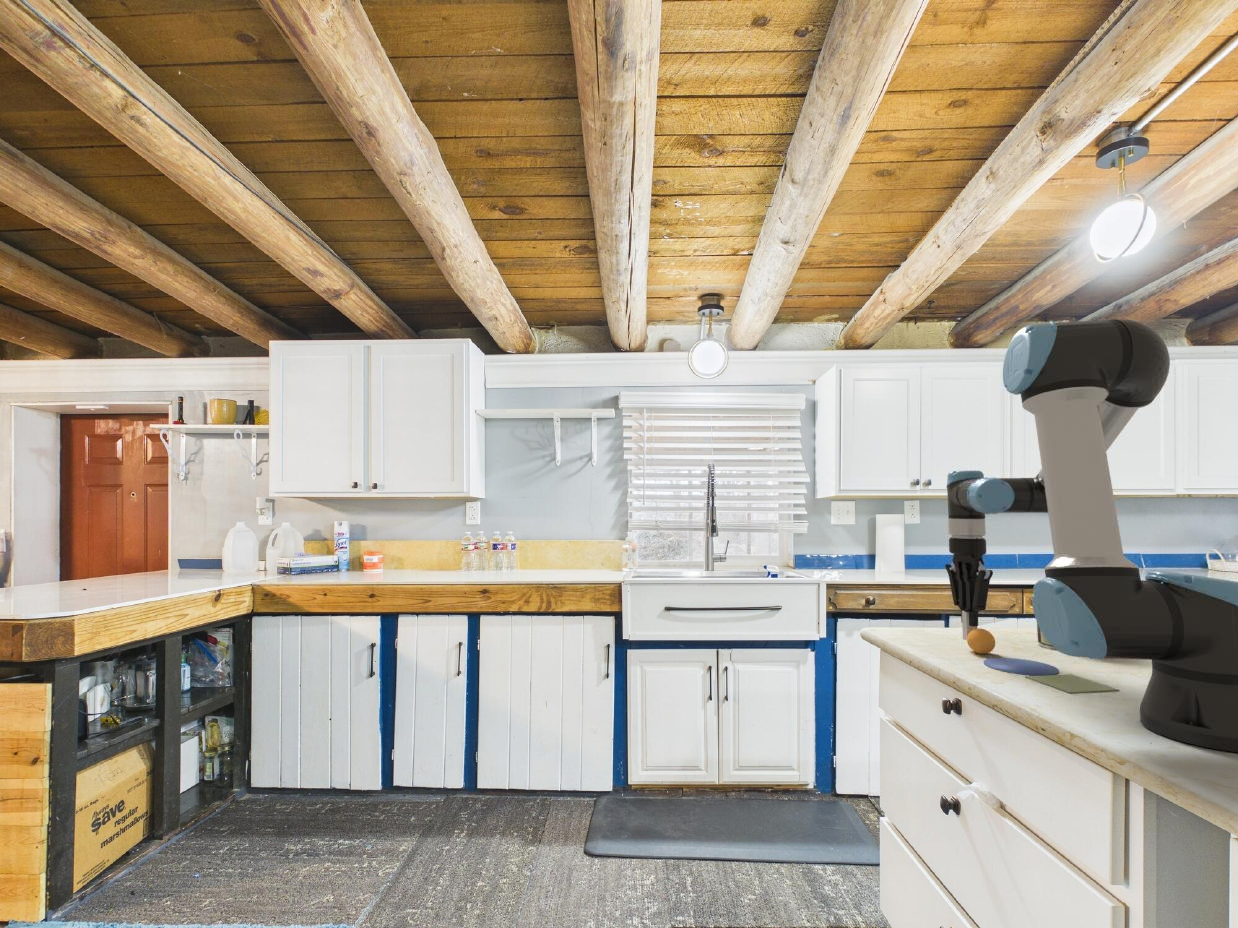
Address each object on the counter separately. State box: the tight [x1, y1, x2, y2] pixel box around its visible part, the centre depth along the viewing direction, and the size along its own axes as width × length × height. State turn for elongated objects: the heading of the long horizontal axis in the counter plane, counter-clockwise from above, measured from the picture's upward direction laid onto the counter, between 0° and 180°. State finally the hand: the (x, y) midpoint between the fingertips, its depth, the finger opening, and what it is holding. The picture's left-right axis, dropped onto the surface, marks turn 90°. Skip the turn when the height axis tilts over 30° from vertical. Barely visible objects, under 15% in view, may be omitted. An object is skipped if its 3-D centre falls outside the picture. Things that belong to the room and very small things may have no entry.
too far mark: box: [1024, 673, 1121, 694], centre depth 114 cm, size 10×10×1 cm
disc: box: [983, 657, 1060, 676], centre depth 126 cm, size 13×13×1 cm
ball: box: [966, 628, 996, 655], centre depth 137 cm, size 6×6×6 cm
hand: (970, 639), depth 141 cm, fingers closed
